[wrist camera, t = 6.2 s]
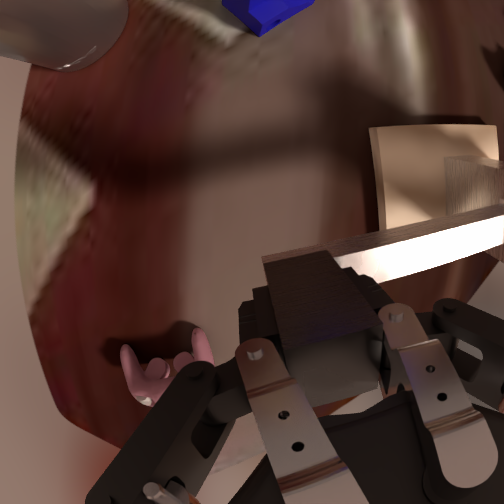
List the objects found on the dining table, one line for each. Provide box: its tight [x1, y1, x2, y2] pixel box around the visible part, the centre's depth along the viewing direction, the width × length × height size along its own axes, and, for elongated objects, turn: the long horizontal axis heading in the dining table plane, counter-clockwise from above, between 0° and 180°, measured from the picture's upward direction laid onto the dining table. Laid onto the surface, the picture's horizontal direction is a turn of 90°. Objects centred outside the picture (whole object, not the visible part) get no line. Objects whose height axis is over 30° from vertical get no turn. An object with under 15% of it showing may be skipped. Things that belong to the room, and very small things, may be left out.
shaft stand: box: [369, 124, 504, 263], centre depth 17 cm, size 13×16×14 cm
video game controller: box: [120, 328, 215, 407], centre depth 26 cm, size 10×5×7 cm, turn 107°
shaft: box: [261, 203, 504, 408], centre depth 12 cm, size 3×18×8 cm, turn 102°
